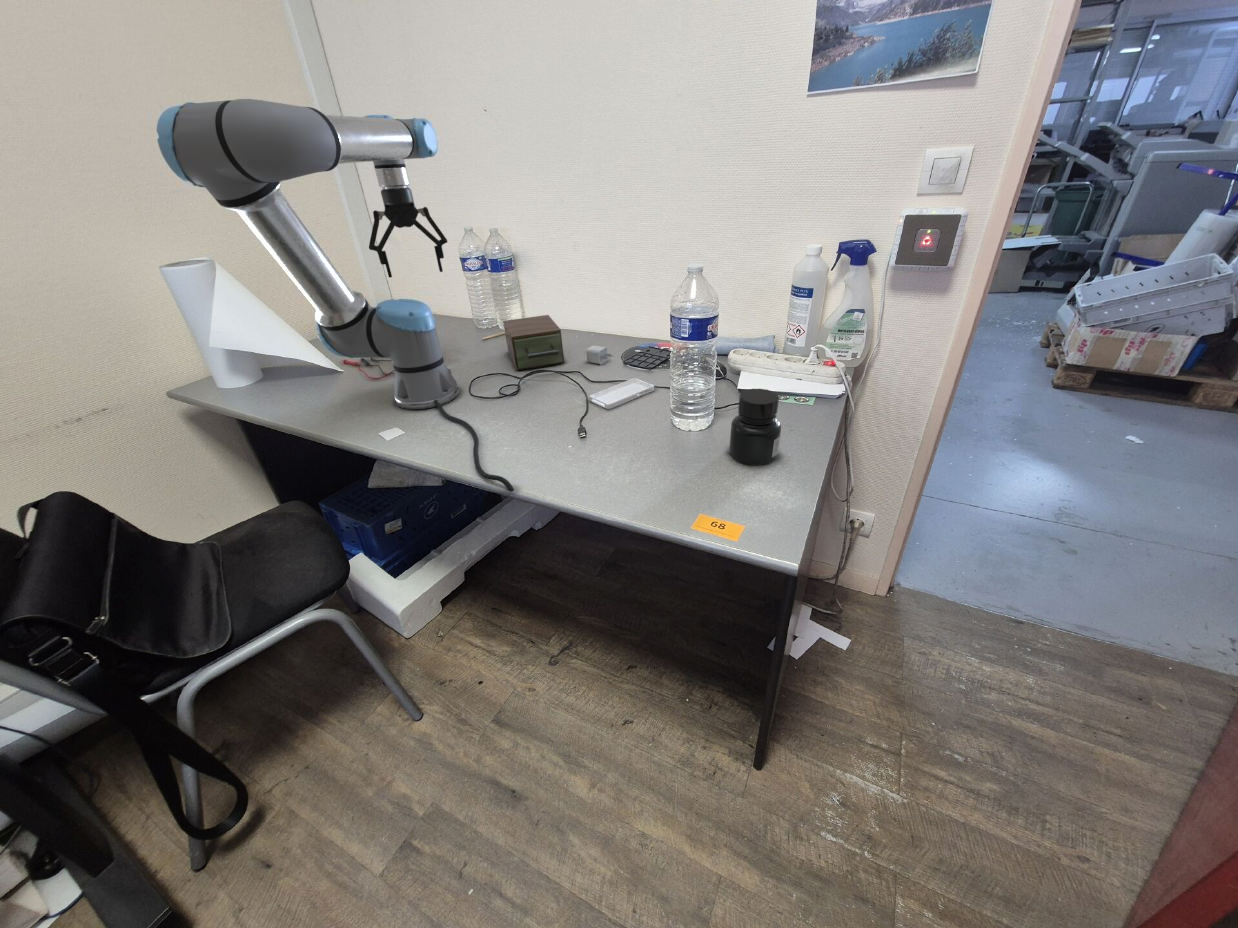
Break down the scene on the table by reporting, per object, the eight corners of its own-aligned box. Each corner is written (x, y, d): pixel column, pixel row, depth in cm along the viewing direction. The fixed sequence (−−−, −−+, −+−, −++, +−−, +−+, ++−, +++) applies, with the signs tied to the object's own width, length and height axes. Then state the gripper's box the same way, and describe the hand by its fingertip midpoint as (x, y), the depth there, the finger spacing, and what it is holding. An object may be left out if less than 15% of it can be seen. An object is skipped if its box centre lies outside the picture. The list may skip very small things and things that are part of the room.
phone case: (634, 382, 128) (588, 401, 120) (634, 377, 127) (588, 395, 119) (655, 390, 123) (608, 410, 115) (655, 385, 122) (608, 404, 114)
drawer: (568, 369, 136) (565, 341, 131) (523, 377, 133) (518, 348, 128) (551, 345, 153) (548, 319, 149) (510, 351, 150) (506, 325, 146)
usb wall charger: (594, 358, 144) (593, 344, 142) (615, 361, 141) (614, 348, 139) (587, 363, 142) (586, 349, 139) (608, 366, 138) (607, 352, 136)
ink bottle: (786, 463, 92) (795, 404, 86) (741, 470, 91) (747, 411, 85) (763, 438, 100) (769, 382, 94) (721, 445, 99) (725, 388, 93)
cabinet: (564, 363, 142) (560, 329, 137) (516, 370, 139) (511, 336, 134) (552, 345, 156) (548, 314, 151) (508, 352, 153) (503, 321, 147)
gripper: (443, 184, 137) (460, 267, 148) (344, 190, 130) (369, 276, 140) (446, 185, 131) (462, 271, 141) (341, 191, 123) (367, 281, 134)
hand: (416, 274), depth 141 cm, fingers open, 13 cm apart
